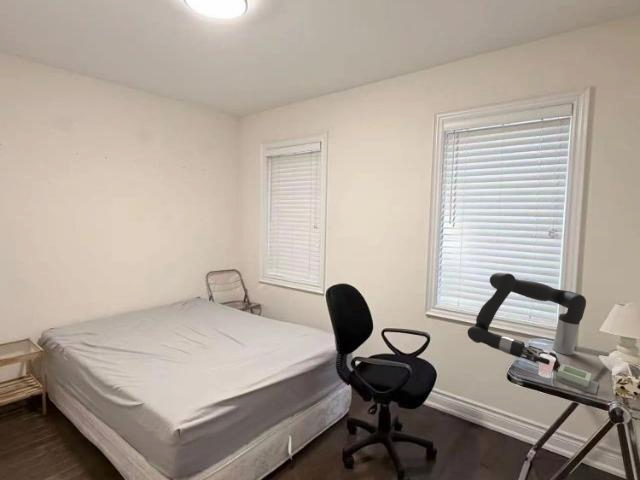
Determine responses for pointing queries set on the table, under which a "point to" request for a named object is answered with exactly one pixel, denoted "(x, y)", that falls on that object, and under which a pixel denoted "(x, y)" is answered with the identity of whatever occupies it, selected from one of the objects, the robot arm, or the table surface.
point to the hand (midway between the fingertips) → (551, 360)
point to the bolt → (556, 363)
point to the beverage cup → (544, 368)
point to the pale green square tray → (576, 378)
